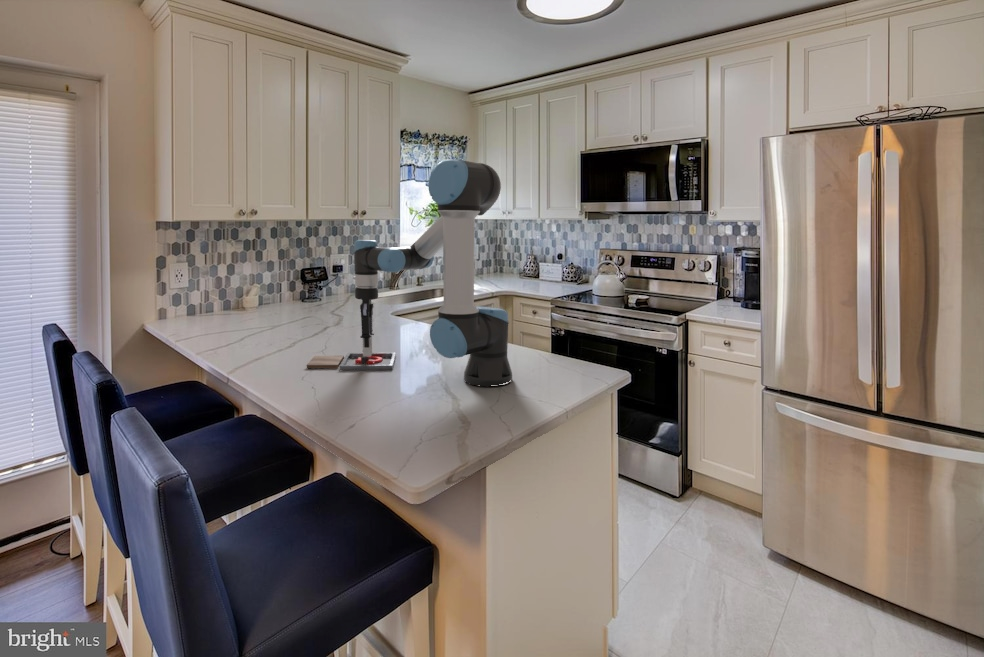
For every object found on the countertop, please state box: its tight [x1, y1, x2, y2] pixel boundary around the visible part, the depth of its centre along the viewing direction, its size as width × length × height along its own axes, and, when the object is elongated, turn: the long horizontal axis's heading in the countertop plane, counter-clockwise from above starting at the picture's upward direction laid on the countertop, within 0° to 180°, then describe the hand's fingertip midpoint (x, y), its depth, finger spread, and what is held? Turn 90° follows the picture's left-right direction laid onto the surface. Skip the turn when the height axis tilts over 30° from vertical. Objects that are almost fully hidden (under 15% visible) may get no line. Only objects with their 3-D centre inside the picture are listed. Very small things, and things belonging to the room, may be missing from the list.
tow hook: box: [354, 356, 383, 365], centre depth 181 cm, size 8×13×9 cm
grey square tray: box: [339, 352, 397, 371], centre depth 179 cm, size 17×17×2 cm
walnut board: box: [306, 355, 345, 369], centre depth 177 cm, size 12×10×1 cm
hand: (367, 355), depth 178 cm, fingers open, 2 cm apart
